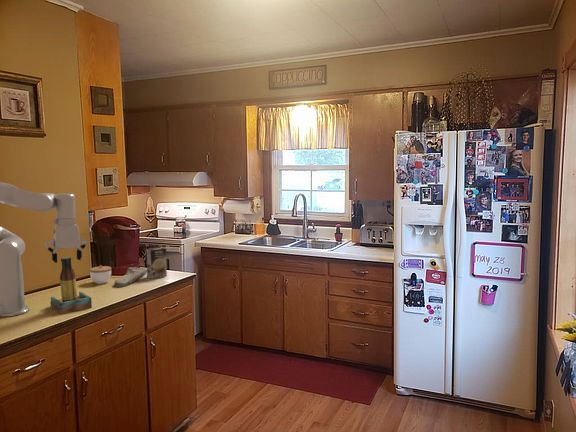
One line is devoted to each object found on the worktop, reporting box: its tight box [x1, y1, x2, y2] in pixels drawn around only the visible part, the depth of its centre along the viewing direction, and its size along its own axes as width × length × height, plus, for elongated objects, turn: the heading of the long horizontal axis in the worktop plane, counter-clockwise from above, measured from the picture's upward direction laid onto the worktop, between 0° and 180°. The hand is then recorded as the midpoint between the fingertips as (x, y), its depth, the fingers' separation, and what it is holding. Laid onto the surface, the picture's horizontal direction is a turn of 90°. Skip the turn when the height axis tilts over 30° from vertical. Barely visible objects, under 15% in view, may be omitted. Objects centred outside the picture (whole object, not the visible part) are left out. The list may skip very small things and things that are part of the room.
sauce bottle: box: [59, 256, 78, 302], centre depth 204 cm, size 7×6×20 cm
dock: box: [50, 291, 93, 315], centre depth 205 cm, size 13×14×4 cm
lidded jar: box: [89, 264, 112, 285], centre depth 248 cm, size 11×11×9 cm
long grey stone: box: [113, 266, 147, 288], centre depth 256 cm, size 35×5×10 cm
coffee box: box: [146, 246, 168, 279], centre depth 260 cm, size 9×6×16 cm
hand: (67, 260), depth 203 cm, fingers open, 9 cm apart
